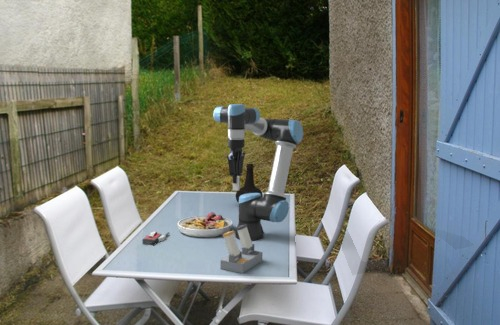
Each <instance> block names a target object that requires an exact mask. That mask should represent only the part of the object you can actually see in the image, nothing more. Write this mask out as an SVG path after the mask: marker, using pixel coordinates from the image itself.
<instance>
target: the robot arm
mask: <svg viewBox="0 0 500 325" xmlns="http://www.w3.org/2000/svg"><path fill="white" fill-rule="evenodd" d="M212 117H213V119H214V121H215V122H217V123H221V124H222V123H224V124H227V138H228V139H227V147H228V148H230V150H229V155H228V154H227V155H226V159H227V161H228V170H229V171H228V172H229V176H230V177H232V191H236V192H237V191H238V190H239V189H240V176H242V175H243V169H244V168H243V167H244V160H245V155H246V152H243V148H245V144H246V143H245V138H246V136H245V134H246V131H248V132H252V133H253V135H255V136H257V137H261V138H263V139H267V140H269V141H274V144H275V146H276V148H275V154H274V158H273V162H272V163H273V164H272V168H271V173H270V178H269V183H268V188H267V191H265V192H263V197H261V194H260V193H248V194H243V195H241V196H240V197H239V203H238V202H237V203H238V224H237V227H239V226H241V225H245V224H247V229H248V232H249V236H250V239H251V241H257V240H259V241H260V240H262V239H263V238H265V236H264V234H265V233H264V229H263V226H262V223H261V222H262V221H267V222H271V223H281V222H283V221H284V220H286V217H287V216H288V214H289V211H290V206H289V202H288V201H287V197H286V195H285V192H286V185H287V181H288V176H289V171H290V165H291V160H292V156H293V151H294V149H296V148H297V144H299V143H301V142H302V140H303V138H304V129H303V126H302V124H301V122H300V121H299V120H295V119H291V118H290V119H286V118H285V119H281V118H263V117H261V113H260V110H259V109H258V108H256V107H245V104H242V103H234V104H233V103H230V104H229V105H228V106H216V107H215V108H214V110H213V115H212ZM237 227H236V228H237ZM234 235H235V238H236V239H238V240H240V238H239V234H238V231H237V230H236V229H235V231H234Z"/></svg>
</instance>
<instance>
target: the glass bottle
mask: <svg viewBox="0 0 500 325" xmlns="http://www.w3.org/2000/svg"><path fill="white" fill-rule="evenodd" d="M245 167H246V170H245V171H246V174H245V180H244V184H243V186H241V187H239V190H238V191H237V190H236V192H235V200H236V203H239V197H240V196H241V195H243V194H248V193H260V194H261V197H264V193H263V191H262V190H261V189H260V188H259V187H257V186H255V180H254V179H255V178H254V168H255V166H254V164H253V163H246V166H245Z"/></svg>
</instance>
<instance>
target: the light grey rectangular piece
mask: <svg viewBox="0 0 500 325" xmlns="http://www.w3.org/2000/svg"><path fill="white" fill-rule="evenodd" d="M236 230H237V231H238V234H239V238H240V239H239V240H240V241H239V242H240V243H241V246H242V248H243V247H245V248H248V251H250V250H252V249H253V247H252V246H253V245H252V244H253V242H252V240H251V239H250V236H249V232H248V229H247V224H245V225H241V226H239V227H236V228H235V231H236Z"/></svg>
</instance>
